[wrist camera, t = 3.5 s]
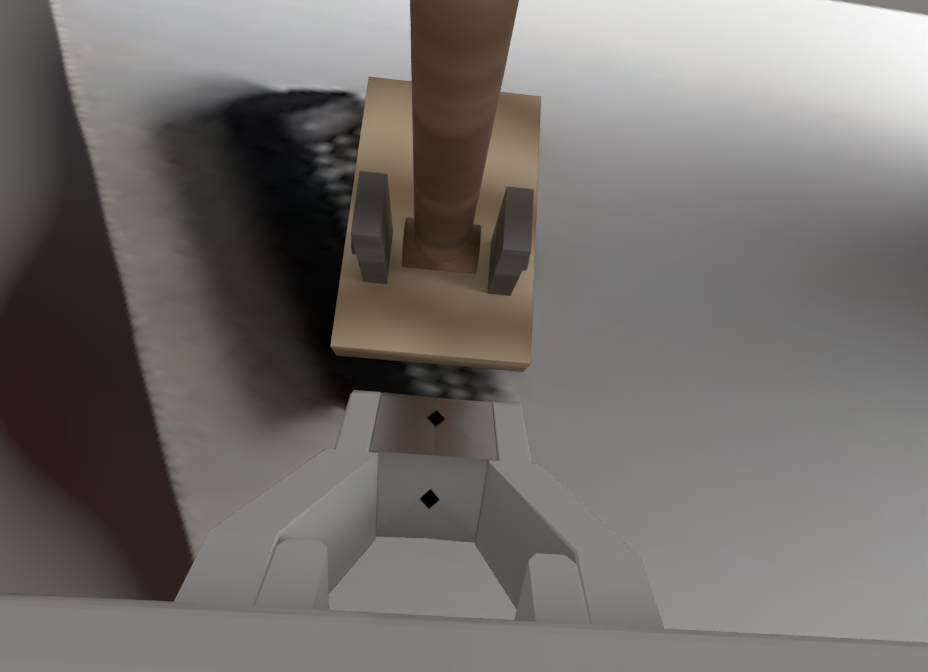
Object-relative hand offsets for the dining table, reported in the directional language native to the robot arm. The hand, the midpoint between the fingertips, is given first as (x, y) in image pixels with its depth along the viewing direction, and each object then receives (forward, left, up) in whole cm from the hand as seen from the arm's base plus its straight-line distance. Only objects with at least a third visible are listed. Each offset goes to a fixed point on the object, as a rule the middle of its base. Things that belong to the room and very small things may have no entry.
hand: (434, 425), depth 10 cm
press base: (-4, -13, -18) cm, 23 cm away
